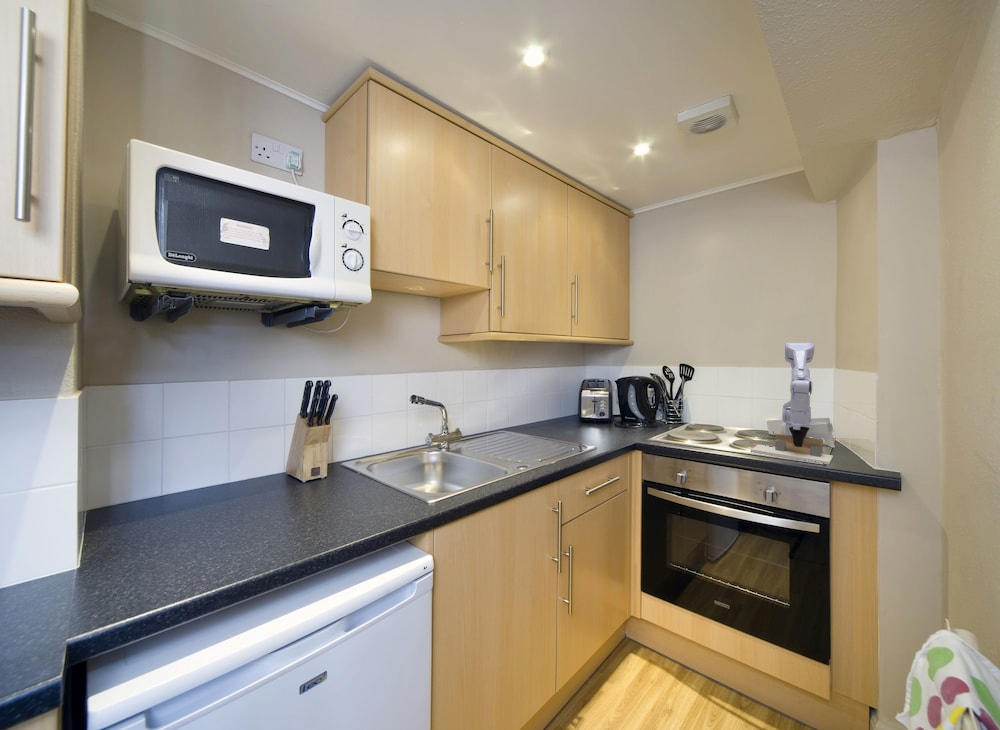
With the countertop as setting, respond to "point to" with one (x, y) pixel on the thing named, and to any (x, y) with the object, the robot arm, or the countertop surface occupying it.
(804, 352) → the robot arm
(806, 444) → the door panel
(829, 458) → the board
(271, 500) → the countertop surface
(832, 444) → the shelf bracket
